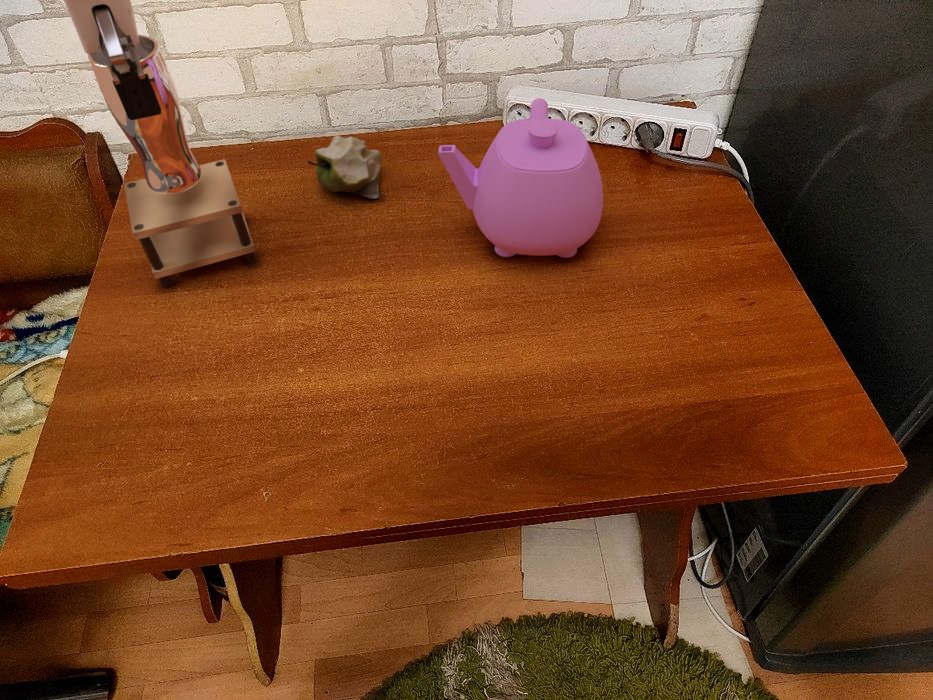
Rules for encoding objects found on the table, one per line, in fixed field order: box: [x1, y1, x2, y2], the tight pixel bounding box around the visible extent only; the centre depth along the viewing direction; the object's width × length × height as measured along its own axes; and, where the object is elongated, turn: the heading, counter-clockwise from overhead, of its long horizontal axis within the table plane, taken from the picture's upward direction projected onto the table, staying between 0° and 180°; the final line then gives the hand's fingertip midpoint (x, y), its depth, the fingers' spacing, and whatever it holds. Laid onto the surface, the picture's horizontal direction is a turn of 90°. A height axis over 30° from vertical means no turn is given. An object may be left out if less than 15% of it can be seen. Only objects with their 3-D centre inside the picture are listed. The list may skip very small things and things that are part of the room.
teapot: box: [437, 97, 604, 259], centre depth 84 cm, size 20×20×15 cm
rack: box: [123, 158, 258, 289], centre depth 83 cm, size 12×10×9 cm
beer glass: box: [87, 34, 202, 194], centre depth 73 cm, size 7×7×15 cm
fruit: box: [307, 135, 382, 200], centre depth 93 cm, size 9×9×8 cm
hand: (141, 96), depth 70 cm, fingers closed on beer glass, 7 cm apart
